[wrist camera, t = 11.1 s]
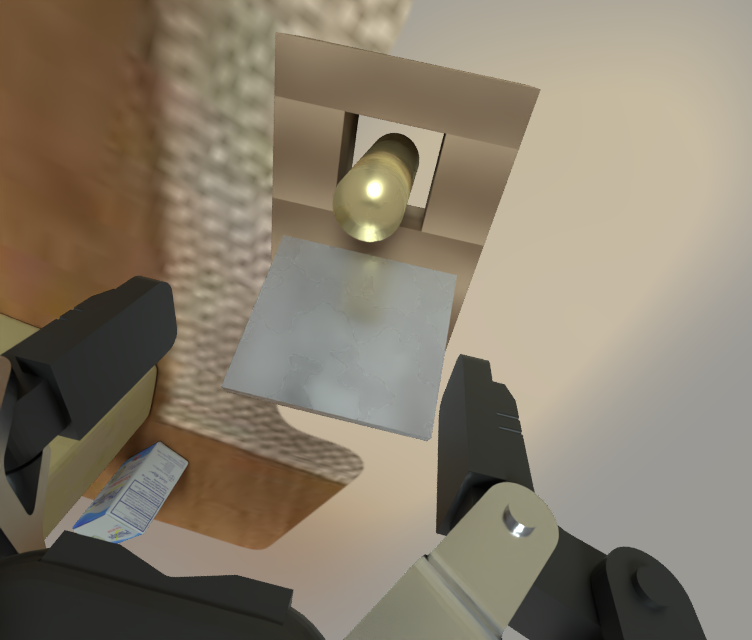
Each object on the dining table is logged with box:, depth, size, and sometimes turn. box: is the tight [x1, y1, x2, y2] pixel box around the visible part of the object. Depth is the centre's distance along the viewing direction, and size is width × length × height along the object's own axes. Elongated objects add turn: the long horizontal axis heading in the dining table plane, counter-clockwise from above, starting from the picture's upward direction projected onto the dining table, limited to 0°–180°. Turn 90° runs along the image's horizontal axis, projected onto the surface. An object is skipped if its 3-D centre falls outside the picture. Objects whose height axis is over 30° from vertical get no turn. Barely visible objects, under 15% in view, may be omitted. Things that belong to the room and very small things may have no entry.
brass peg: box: [332, 133, 419, 242], centre depth 20 cm, size 3×3×9 cm
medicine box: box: [73, 441, 188, 544], centre depth 43 cm, size 8×4×9 cm, turn 128°
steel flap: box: [221, 235, 457, 441], centre depth 20 cm, size 9×10×1 cm
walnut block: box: [271, 32, 540, 351], centre depth 24 cm, size 20×12×4 cm, turn 170°
